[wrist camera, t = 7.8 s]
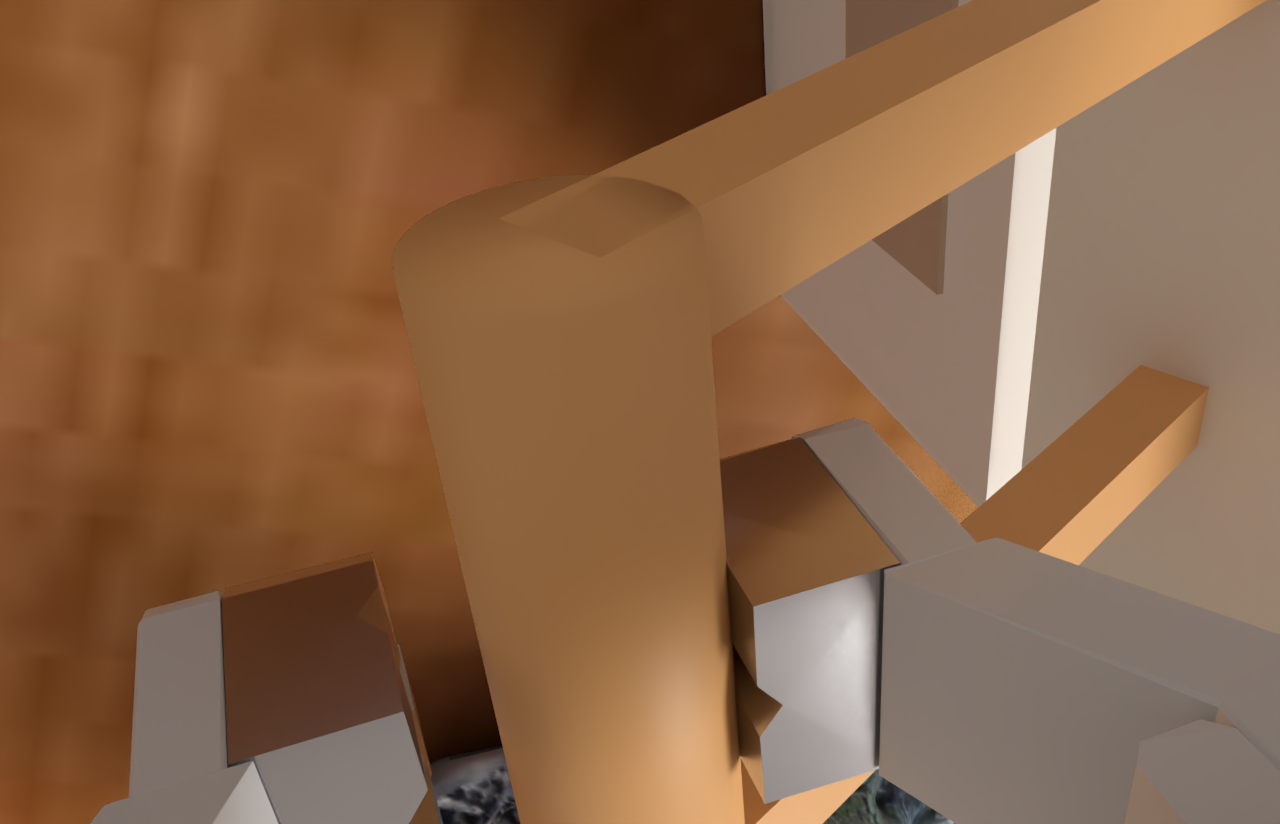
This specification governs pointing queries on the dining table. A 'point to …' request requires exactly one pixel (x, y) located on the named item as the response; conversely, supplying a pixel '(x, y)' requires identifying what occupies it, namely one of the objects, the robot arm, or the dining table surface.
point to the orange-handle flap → (787, 255)
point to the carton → (930, 271)
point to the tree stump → (488, 820)
